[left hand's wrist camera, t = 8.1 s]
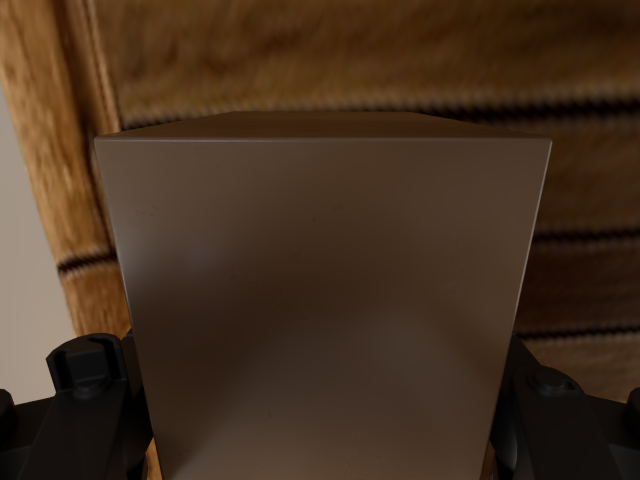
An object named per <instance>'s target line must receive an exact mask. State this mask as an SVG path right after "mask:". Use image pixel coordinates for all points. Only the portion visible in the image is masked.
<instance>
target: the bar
mask: <svg viewBox="0 0 640 480" xmlns="http://www.w3.org/2000/svg"><path fill="white" fill-rule="evenodd" d="M94 145H95V150H96V155H97V159H98V164H99V169H100V174H101V179H102V184H103V189H104V194H105V199H106V204H107V209H108V214H109V219H110V223H111V228H112V233H113V238H114V243H115V248H116V253H117V258H118V263H119V268H120V273H121V278H122V283H123V288H124V292H125V297H126V302H127V307H128V312H129V317H130V322H131V327H132V332H133V337H134V342H135V347H136V352H137V356H138V361H139V366H140V371H141V376H142V381H143V386H144V391H145V396H146V401H147V406H148V411H149V416H150V421H151V425H152V430H153V435H154V440H155V445H156V450H157V455H158V460H159V465H160V470H161V475H162V480H481V475H482V471H483V466H484V461H485V457H486V452H487V447H488V443H489V438H490V433H491V428H492V424H493V419H494V414H495V410H496V405H497V400H498V396H499V391H500V386H501V382H502V377H503V372H504V368H505V363H506V358H507V354H508V349H509V344H510V340H511V335H512V330H513V326H514V321H515V316H516V311H517V307H518V302H519V297H520V293H521V288H522V283H523V279H524V274H525V269H526V265H527V260H528V255H529V251H530V246H531V241H532V237H533V232H534V227H535V223H536V218H537V213H538V209H539V204H540V199H541V195H542V190H543V185H544V180H545V176H546V171H547V166H548V162H549V157H550V152H551V148H552V139H551V138H549V137H545V136H540V135H534V134H529V133H523V132H518V131H512V130H506V129H501V128H495V127H490V126H484V125H479V124H473V123H468V122H462V121H457V120H451V119H446V118H440V117H434V116H429V115H423V114H418V113H412V112H252V111H234V112H228V113H223V114H217V115H212V116H206V117H200V118H195V119H189V120H184V121H178V122H173V123H167V124H162V125H156V126H150V127H145V128H139V129H134V130H128V131H123V132H117V133H111V134H106V135H100V136H97V137H95V138H94Z"/></svg>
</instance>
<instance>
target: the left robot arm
mask: <svg viewBox="0 0 640 480" xmlns="http://www.w3.org/2000/svg"><path fill="white" fill-rule="evenodd" d="M46 361H47V365H48V368H49V371H50V374H51V377H52V381H53V384H54V387H55V390H56V394H55V396H53V397H50V398H46V399H41V400H36V401H32V402H28V403H23V404H18V405H14V402H13V399H12V396H11V394H10V393H9V392H7V391H6V390H5V389H0V480H147V474H148V464H147V458H146V454H145V453H146V451H147V448H148V446H149V444H150V442H151V440H152V438H153V436H154V435H153V430H152V425H151V421H150V416H149V411H148V406H147V401H146V396H145V391H144V386H143V381H142V376H141V371H140V366H139V361H138V356H137V352H136V347H135V342H134V337H133V332H132V328H131V329H130V330H129V331H128V333H127V334H126V337H124V338H123V339H122V340H121V341H120V339H119V338H118V337H116V336H115V335H112V334H108V333H94V334H88V335H84V336H80V337H77V338H75V339H72V340H70V341H67V342H65V343H63V344H62V345H60V346H59V347H57V348H56V349H54V350H53V351H52V352H51V353H50V354H49V355H48V357H47V358H46ZM489 440H490V442H491V444H492V446H493V448H494V450H495V454H494V458H493V463H492V467H491V472H490V476H489V480H640V387H638V388H635V389H634V390H633V391H631V392H630V395H629V398H628V400H627V403H621V402H616V401H612V400H607V399H603V398H598V397H593V396H590V395H586V394H585V393H584V391H583V390H582V389H581V387H580V386H579V385H578V383H577V382H575V381H574V380H573V379H571V378H570V377H569V376H568V375H566V374H564V373H562V372H560V371H558V370H556V369H554V368H550V367H547V366H543V365H540V364H539V362H538V361H537V360H536V359H535V357H534V356H533V355H532V354H531V353H530V351H529V350H528V349H527V348H526V346H525V345H524V344H523V343H522V342H521V340H520V339H519V338H518V337H517V336H515V333H514V332H513V330H512V335H511V340H510V344H509V349H508V354H507V358H506V363H505V368H504V372H503V377H502V382H501V386H500V391H499V396H498V400H497V405H496V410H495V414H494V419H493V424H492V428H491V433H490V438H489Z"/></svg>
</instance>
